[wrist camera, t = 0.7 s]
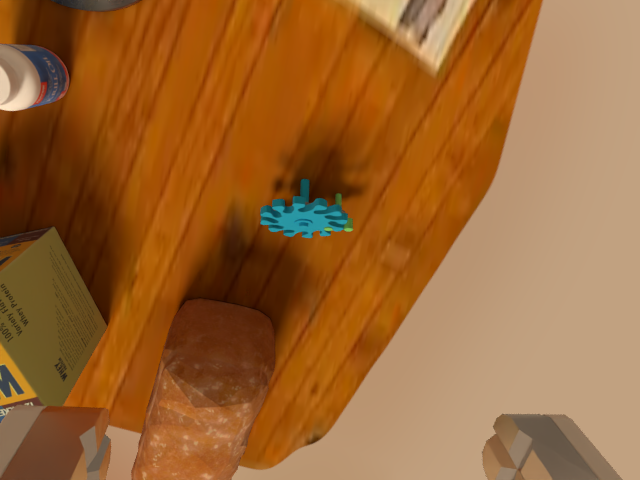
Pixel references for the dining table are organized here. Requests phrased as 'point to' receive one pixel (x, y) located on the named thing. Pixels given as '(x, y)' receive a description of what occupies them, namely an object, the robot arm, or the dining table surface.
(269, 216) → the gear
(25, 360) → the protein box
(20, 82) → the pill bottle
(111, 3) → the carrier plate
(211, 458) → the bread
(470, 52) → the dining table surface
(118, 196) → the dining table surface
